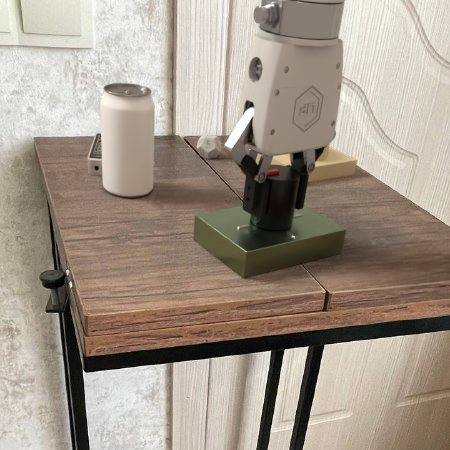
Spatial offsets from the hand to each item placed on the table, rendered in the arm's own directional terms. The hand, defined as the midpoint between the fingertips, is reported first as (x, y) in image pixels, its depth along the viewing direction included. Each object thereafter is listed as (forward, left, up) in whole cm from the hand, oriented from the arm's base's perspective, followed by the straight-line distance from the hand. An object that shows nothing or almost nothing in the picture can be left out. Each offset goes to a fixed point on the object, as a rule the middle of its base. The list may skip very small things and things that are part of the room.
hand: (273, 207), depth 69 cm
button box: (-21, -19, -5) cm, 29 cm away
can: (+7, -21, -5) cm, 23 cm away
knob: (0, 0, -2) cm, 2 cm away
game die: (-10, -28, -5) cm, 30 cm away
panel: (0, 0, -5) cm, 5 cm away
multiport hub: (+5, -31, -5) cm, 32 cm away
